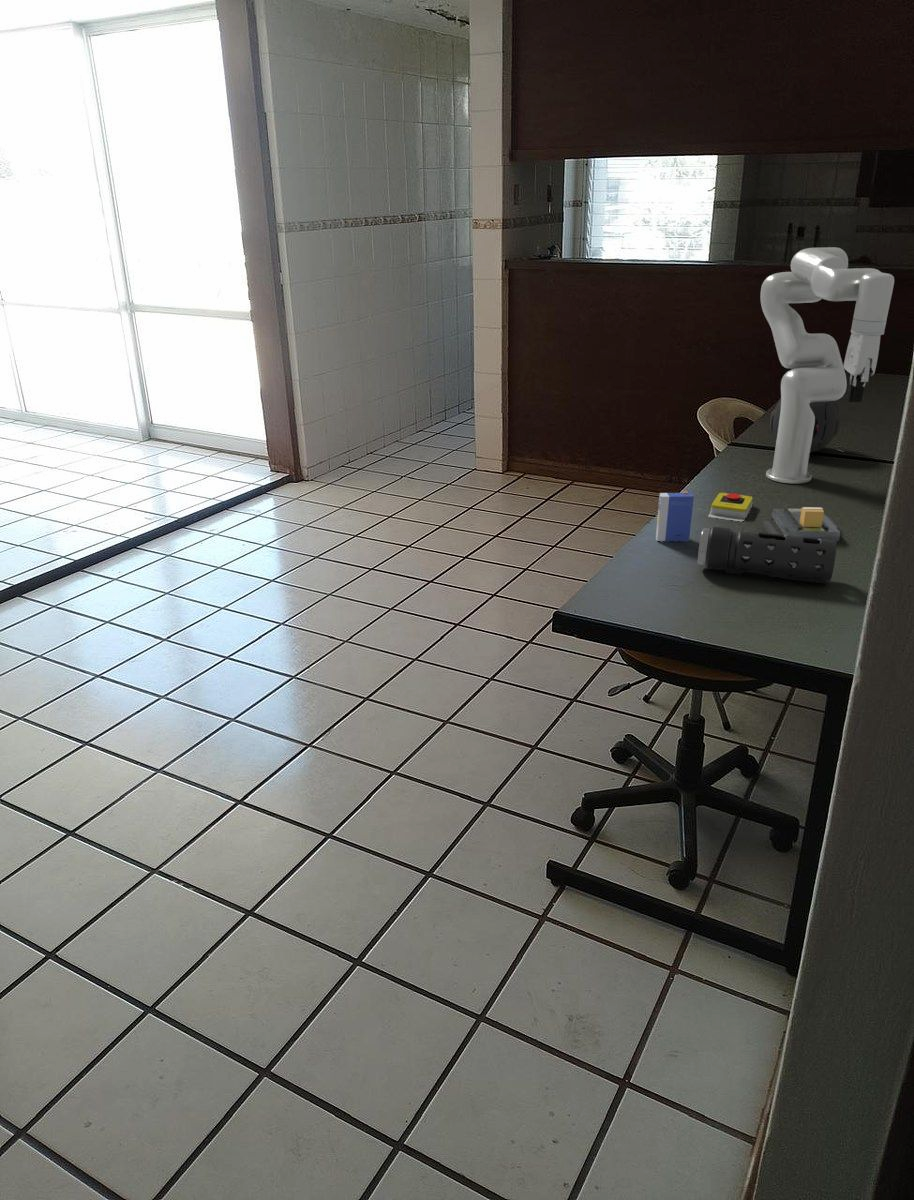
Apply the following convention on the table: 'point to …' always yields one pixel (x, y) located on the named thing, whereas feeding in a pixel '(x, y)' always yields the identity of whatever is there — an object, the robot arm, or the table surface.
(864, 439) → the table surface
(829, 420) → the gadget
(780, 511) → the panel
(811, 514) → the cardboard box
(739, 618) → the table surface
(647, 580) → the table surface
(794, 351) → the robot arm
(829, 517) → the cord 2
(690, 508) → the walkman
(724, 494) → the emergency button
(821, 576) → the muzzle brake
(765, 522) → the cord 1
